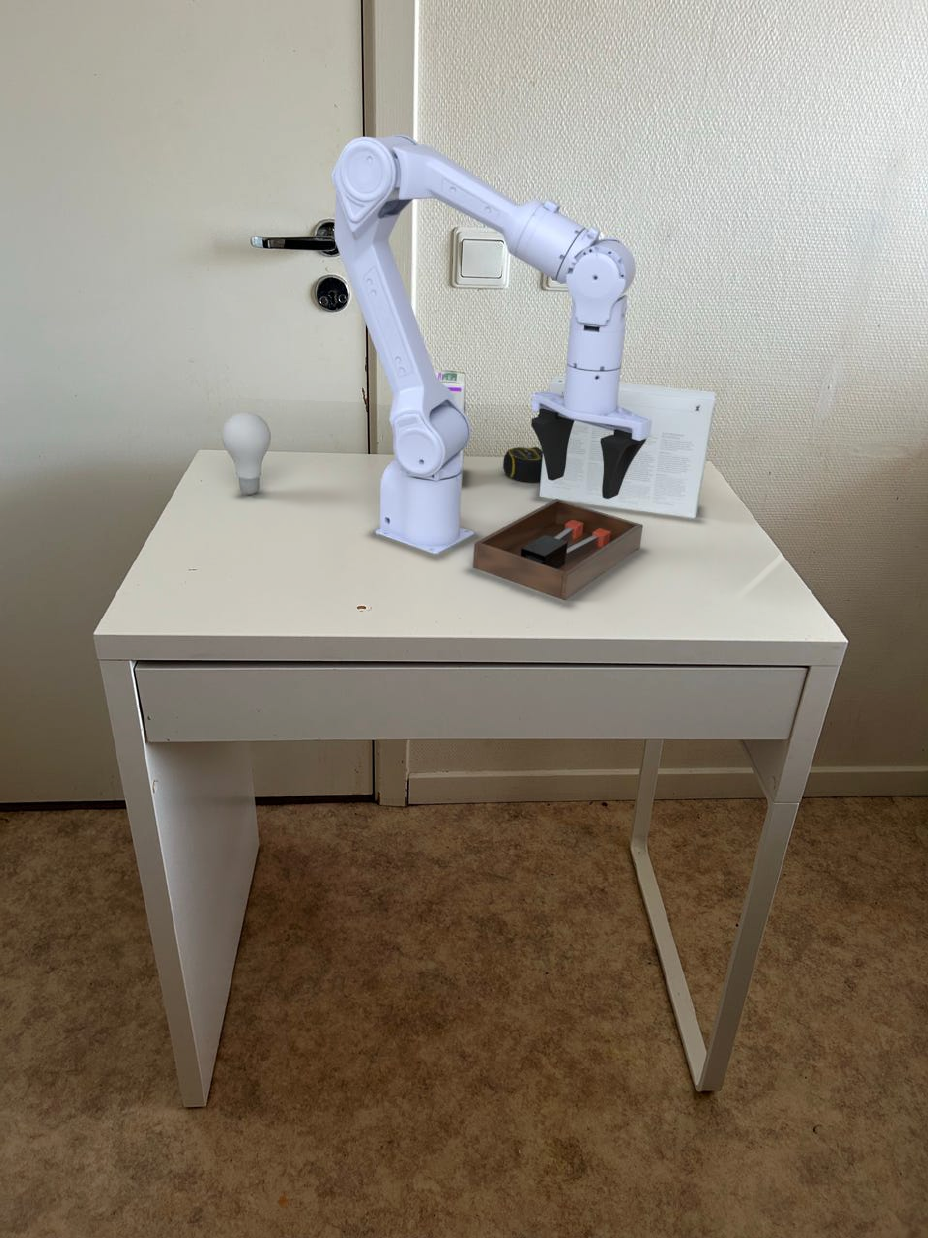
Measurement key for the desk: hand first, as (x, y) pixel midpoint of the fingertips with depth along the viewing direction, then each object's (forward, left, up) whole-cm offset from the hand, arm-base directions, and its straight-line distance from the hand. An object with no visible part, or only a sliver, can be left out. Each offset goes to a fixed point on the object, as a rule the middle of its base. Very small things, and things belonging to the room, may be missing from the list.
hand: (582, 486), depth 106 cm
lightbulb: (-43, -10, -10) cm, 46 cm away
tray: (-2, 0, -10) cm, 10 cm away
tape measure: (-19, +21, -10) cm, 30 cm away
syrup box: (-28, +12, -10) cm, 32 cm away
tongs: (-2, 0, -9) cm, 10 cm away
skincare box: (-5, +21, -10) cm, 24 cm away
